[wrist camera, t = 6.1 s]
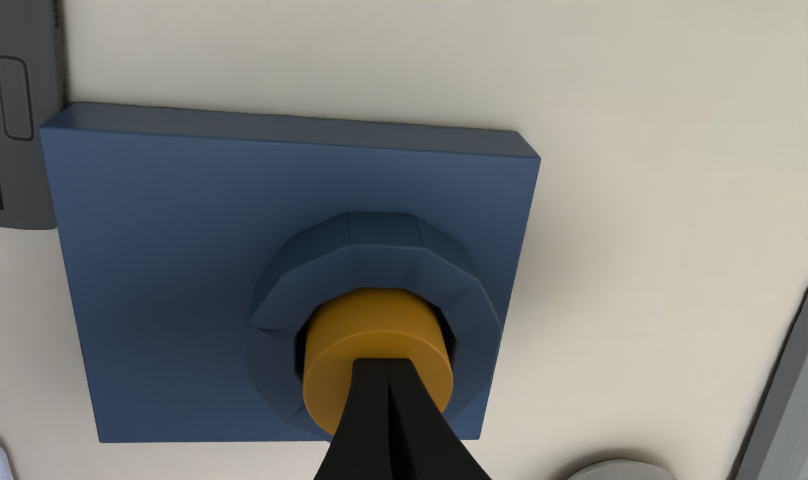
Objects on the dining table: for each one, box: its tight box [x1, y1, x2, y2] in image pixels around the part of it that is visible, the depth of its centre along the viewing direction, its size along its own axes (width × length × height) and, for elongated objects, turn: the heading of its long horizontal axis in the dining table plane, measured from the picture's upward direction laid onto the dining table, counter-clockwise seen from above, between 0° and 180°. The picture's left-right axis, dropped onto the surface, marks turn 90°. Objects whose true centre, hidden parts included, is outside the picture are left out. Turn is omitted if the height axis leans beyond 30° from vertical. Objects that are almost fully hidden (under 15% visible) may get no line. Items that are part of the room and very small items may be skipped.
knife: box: [735, 293, 808, 480], centre depth 25 cm, size 30×1×5 cm
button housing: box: [38, 102, 541, 443], centre depth 16 cm, size 12×10×4 cm
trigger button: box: [303, 287, 453, 436], centre depth 15 cm, size 4×4×2 cm
